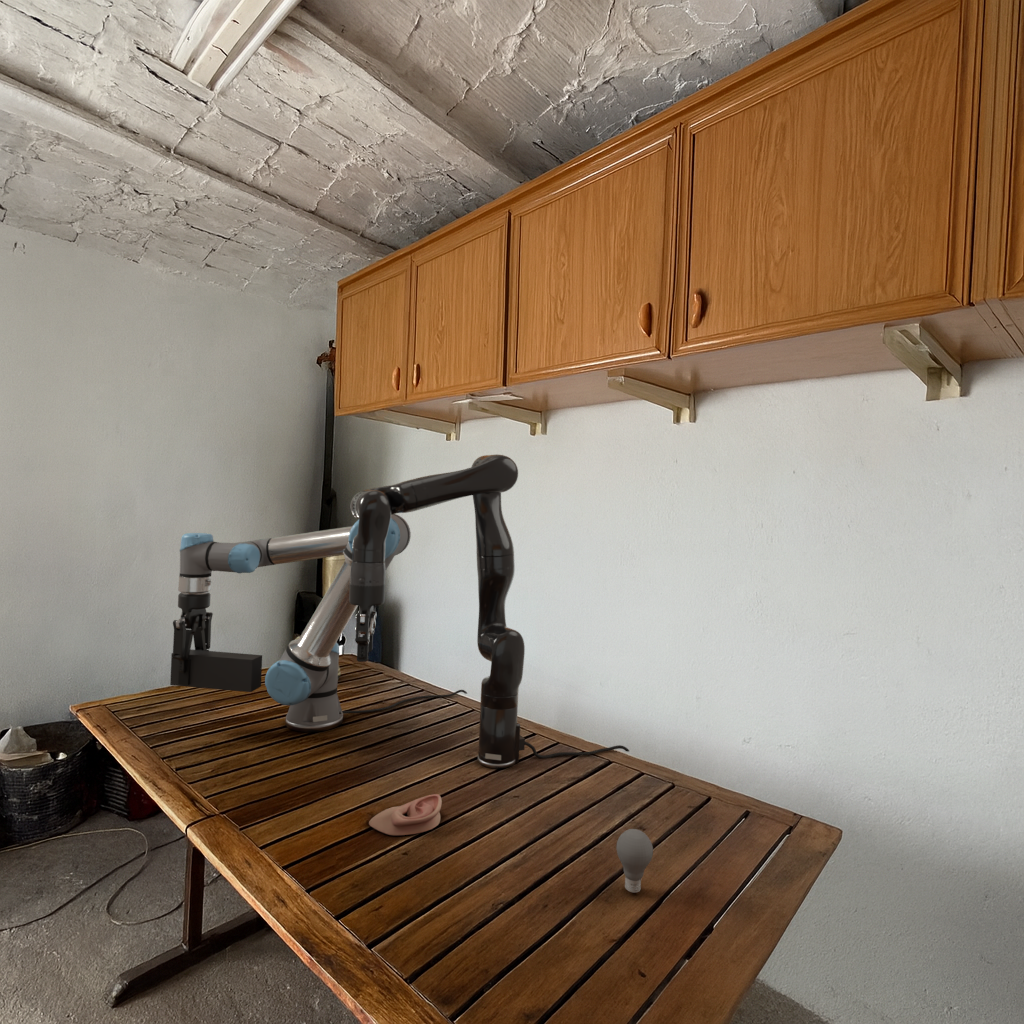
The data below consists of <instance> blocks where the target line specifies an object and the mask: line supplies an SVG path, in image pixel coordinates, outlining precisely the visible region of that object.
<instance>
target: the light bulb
mask: <svg viewBox="0 0 1024 1024" xmlns="http://www.w3.org/2000/svg"><path fill="white" fill-rule="evenodd" d="M615 849H616V854H617V857H618V859H619V861H620V863H621V865H622V867H623V873H624V874H623V875H624V876H625V878H624V888H625V890H627V891H628V892H630V893H634V894H635V893H639V892H640V891H641V889H642V887H641V886H642V879H643V877H644V875H645V871H646V868H647V867H648V866H649V864H650V863H651V861H652V859H653V855H654V847H653V843H652V841H651V838H649V836H648V835H647V834H646V833H645V832H643V831H642V830H641V829H636V828H629V829H627V830H625V831H623V832H622V833H621V834H620V835H619V837H618V839H617V841H616V847H615Z"/></svg>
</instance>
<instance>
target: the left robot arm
mask: <svg viewBox="0 0 1024 1024" xmlns="http://www.w3.org/2000/svg"><path fill="white" fill-rule="evenodd" d="M358 526H359V520H358V519H357V520H356V521H355V522H354V524H353V525H351V526H349V525H348V526H343V527H337V528H329V529H323V530H316V531H309V532H302V533H297V534H296V533H295V534H290V535H289V534H288V535H282V536H276V537H270V538H268V537H267V538H261V539H254V540H249V541H240V542H218V541H215V540H214V536H213V534H212V533H206V532H188V533H187V532H186V533H183V534H182V536H181V538H180V548H179V575H178V588H177V589H178V592H179V594H178V596H177V607H178V608H179V609H181V614H180V618H179V619H174V620H173V621H172V626H173V641H172V642H173V643H172V653H173V659H178V660H179V669H178V671H179V677H178V684H181V685H189V684H190V667H191V659H189V654H190V649H191V650H192V642H193V645H194V650H204V651H210V649H211V641H212V640H211V639H212V637H211V636H212V620H213V615H214V613H213V612H210V611H207V609H208V608H210V607H211V593H210V591H211V589H212V588H211V587H212V586H211V585H212V572H226V573H236V574H251V573H253V572H255V571H256V569H257V568H263V567H269V566H276V565H282V564H289V563H290V564H291V563H296V562H304V561H310V560H311V561H312V560H318V559H325V558H333V557H339V556H343V557H344V562H343V563H342V565H341V566H340V569H339V570H338V571H337V573H336V575H335V577H334V579H333V581H332V582H331V583H330V586H329V587H328V589H327V590H326V592H325V594H324V596H323V597H322V599H321V601H320V602H319V604H318V606H317V607H316V609H315V611H314V613H313V614H312V616H311V618H310V619H309V621H308V622H307V624H306V626H305V628H304V629H303V631H302V632H301V635H300V636H299V637H300V638H299V639H296V638H295V639H296V640H295V639H293V640H290V641H289V643H288V645H287V647H286V648H285V650H284V651H283V653H282V655H281V656H280V658H279V660H277V661H275V662H274V663H272V665H271V666H270V667H269V668H268V669H267V672H266V673H265V677H264V686H265V687H266V692H267V693H268V695H269V696H270V698H271V699H272V700H273V701H275V702H276V703H277V704H279V705H282V706H287V707H288V706H289V708H288V711H287V713H286V715H285V726H286V728H287V729H289V730H291V731H294V732H295V731H296V732H301V733H316V732H325V731H329V730H332V729H335V728H337V727H339V726H340V725H342V723H343V722H344V715H345V714H365V713H375V712H381V711H386V710H389V709H392V708H395V707H397V706H398V705H401V704H404V703H407V702H411V701H415V700H422V699H429V698H448V697H453V696H455V695H458V694H459V693H464V694H465V695H466V694H468V692H467V691H466V690H465V689H458V690H456V691H454V692H452V693H447V694H432V695H431V694H430V695H429V694H428V695H421V696H420V695H419V696H415V697H410V698H406V699H402V700H399V701H397V702H395V703H393V704H391V705H389V706H385V707H380V708H373V709H362V710H343V709H342V706H341V702H340V699H339V695H338V682H339V679H338V665H339V662H340V661H339V660H340V658H339V657H340V645H339V643H338V640H339V638H340V637H341V635H342V634H343V632H344V630H345V628H347V625H348V623H349V622H350V620H351V618H352V616H353V615H354V614H355V611H356V610H357V608H358V607H359V606H358V605H352V604H350V602H349V592H350V571H351V565H352V549H353V548H352V547H353V540H354V537H355V536H356V535H357V534H358ZM411 533H412V532H411V528H410V525H409V523H408V521H406V520H405V519H404V518H403V516H401V515H398V514H397V513H396V514H392V515H391V519H390V524H389V529H388V534H387V537H386V541H385V570H386V571H387V569H388V568H389V566H390V564H391V563H392V561H393V559H394V558H395V557H396V556H397V555H400V554H401V553H403V552H404V551H405V550H406V549H407V548H408V546H409V544H410V541H411V536H412V535H411Z"/></svg>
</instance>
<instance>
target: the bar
mask: <svg viewBox="0 0 1024 1024" xmlns="http://www.w3.org/2000/svg"><path fill="white" fill-rule="evenodd" d="M170 656H171V657H170V658H171V659H170V660H171V661H170V680H169V681H170V686H175V687H176V686H177V687H186V688H187V687H188V688H198V689H199V688H200V689H211V690H221V691H231V692H232V691H233V692H245V693H252V692H255V690H258V689H260V688H261V687H262V671H263V655H262V654H251V653H239V652H228V651H216V650H215V651H214V650H209V651H204V650H195V649H192V648H191V649H190V654H189V659H191V667H190V684H189V685H181V684H178V677H179V671H178V669H179V660H178V659H173V652H171V655H170Z"/></svg>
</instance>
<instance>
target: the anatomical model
mask: <svg viewBox="0 0 1024 1024" xmlns="http://www.w3.org/2000/svg"><path fill="white" fill-rule="evenodd" d="M442 804H443V799H442V797H441V795H440V794H437V793H435V794H433V793H432V794H429V795H425V796H421V797H418V798H416V799H413V800H411V801H409V802H406V803H404V804H402V805H398V806H392V807H390V808H386V809H384V810H382V811H380V812H379V813H377V814H376V815H374V816H373V817H371V819H370V820H369V821H368V825H369V826H370V827H371V828H372V829H374V830H376V831H378V832H380V833H382V834H385V835H389V836H405V835H406V836H408V835H415V834H421V833H424V832H428V831H430V830H433V829H434V828H436V827H437V826H439V824H440V822H441V817H442V816H441V813H440V811H441V809H442Z"/></svg>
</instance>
